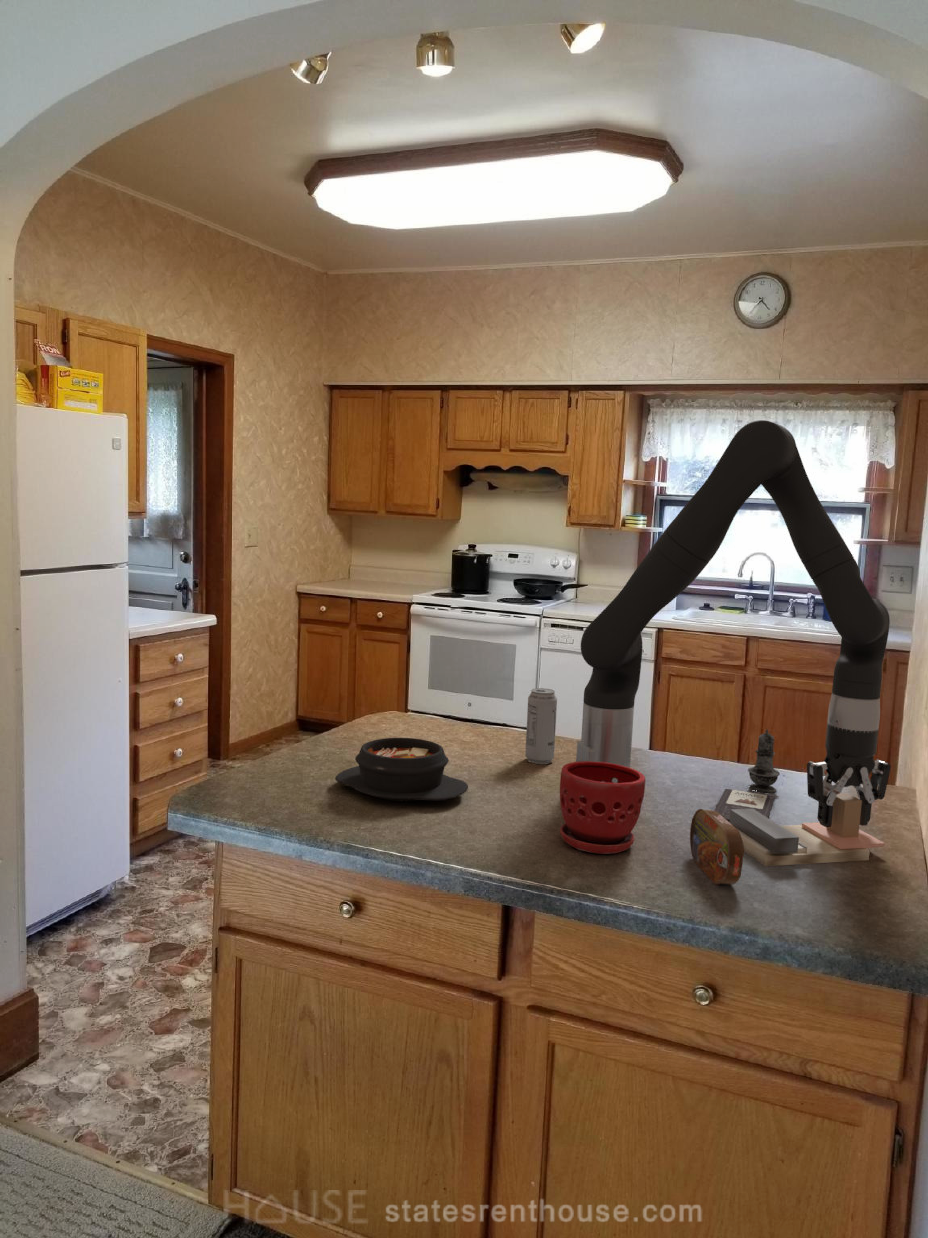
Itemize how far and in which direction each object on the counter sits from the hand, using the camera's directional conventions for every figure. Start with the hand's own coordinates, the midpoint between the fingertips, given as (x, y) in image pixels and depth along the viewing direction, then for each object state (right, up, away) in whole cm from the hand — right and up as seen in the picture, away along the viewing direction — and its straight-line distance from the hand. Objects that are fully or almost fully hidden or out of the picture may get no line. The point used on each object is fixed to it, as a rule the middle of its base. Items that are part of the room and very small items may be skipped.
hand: (843, 824), depth 144 cm
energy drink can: (-46, +3, +43) cm, 63 cm away
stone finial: (-3, 0, +29) cm, 29 cm away
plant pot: (-40, -3, -3) cm, 40 cm away
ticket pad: (-8, -4, -1) cm, 9 cm away
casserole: (-73, +1, +19) cm, 75 cm away
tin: (-24, -5, -12) cm, 28 cm away
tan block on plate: (0, -2, 0) cm, 2 cm away
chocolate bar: (-11, -2, +17) cm, 20 cm away
